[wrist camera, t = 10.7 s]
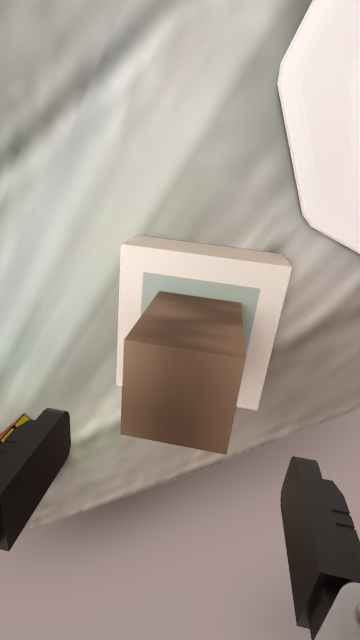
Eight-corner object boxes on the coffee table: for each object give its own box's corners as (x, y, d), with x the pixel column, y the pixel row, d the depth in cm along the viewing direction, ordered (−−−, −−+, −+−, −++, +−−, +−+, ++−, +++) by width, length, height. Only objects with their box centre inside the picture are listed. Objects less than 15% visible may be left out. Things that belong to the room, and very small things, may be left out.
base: (282, 254, 22) (292, 267, 18) (253, 379, 26) (257, 411, 22) (138, 235, 23) (120, 244, 19) (132, 358, 27) (115, 386, 23)
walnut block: (241, 302, 19) (245, 359, 13) (228, 374, 21) (226, 454, 15) (159, 290, 20) (124, 339, 13) (153, 361, 22) (120, 434, 15)
